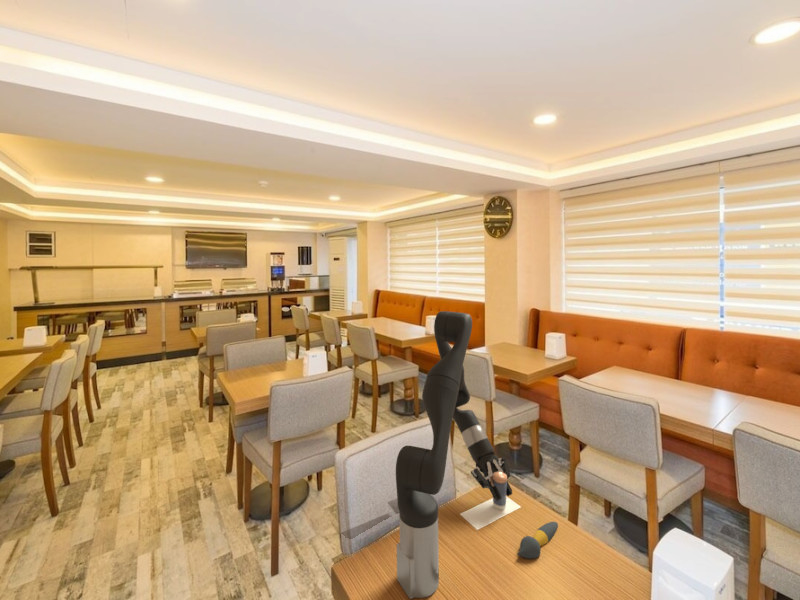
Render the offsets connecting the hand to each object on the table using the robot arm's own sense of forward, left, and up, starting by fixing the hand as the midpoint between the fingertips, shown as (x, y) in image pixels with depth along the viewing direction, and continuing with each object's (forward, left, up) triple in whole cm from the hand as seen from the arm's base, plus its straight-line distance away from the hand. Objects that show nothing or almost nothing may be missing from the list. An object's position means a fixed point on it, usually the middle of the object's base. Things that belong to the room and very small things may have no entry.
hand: (504, 497), depth 108 cm
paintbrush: (-1, -13, -6) cm, 14 cm away
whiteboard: (-4, +2, -5) cm, 7 cm away
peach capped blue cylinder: (0, +2, -4) cm, 5 cm away
